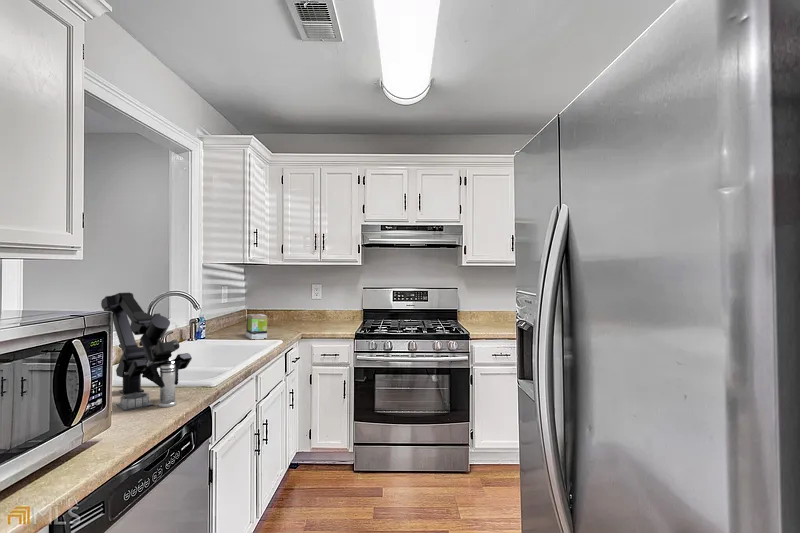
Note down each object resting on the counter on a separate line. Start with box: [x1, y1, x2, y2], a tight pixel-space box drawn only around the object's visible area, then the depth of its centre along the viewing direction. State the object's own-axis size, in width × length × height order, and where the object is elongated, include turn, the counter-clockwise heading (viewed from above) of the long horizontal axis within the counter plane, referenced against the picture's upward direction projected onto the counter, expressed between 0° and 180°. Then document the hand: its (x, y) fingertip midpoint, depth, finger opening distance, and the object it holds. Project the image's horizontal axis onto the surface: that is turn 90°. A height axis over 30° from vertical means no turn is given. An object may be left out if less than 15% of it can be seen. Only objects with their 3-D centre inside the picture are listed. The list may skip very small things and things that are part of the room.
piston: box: [158, 364, 177, 408], centre depth 156 cm, size 5×5×13 cm
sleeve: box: [116, 392, 155, 412], centre depth 156 cm, size 9×9×3 cm
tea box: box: [245, 313, 268, 340], centre depth 304 cm, size 15×10×15 cm, turn 30°
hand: (169, 385), depth 155 cm, fingers closed on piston, 4 cm apart
